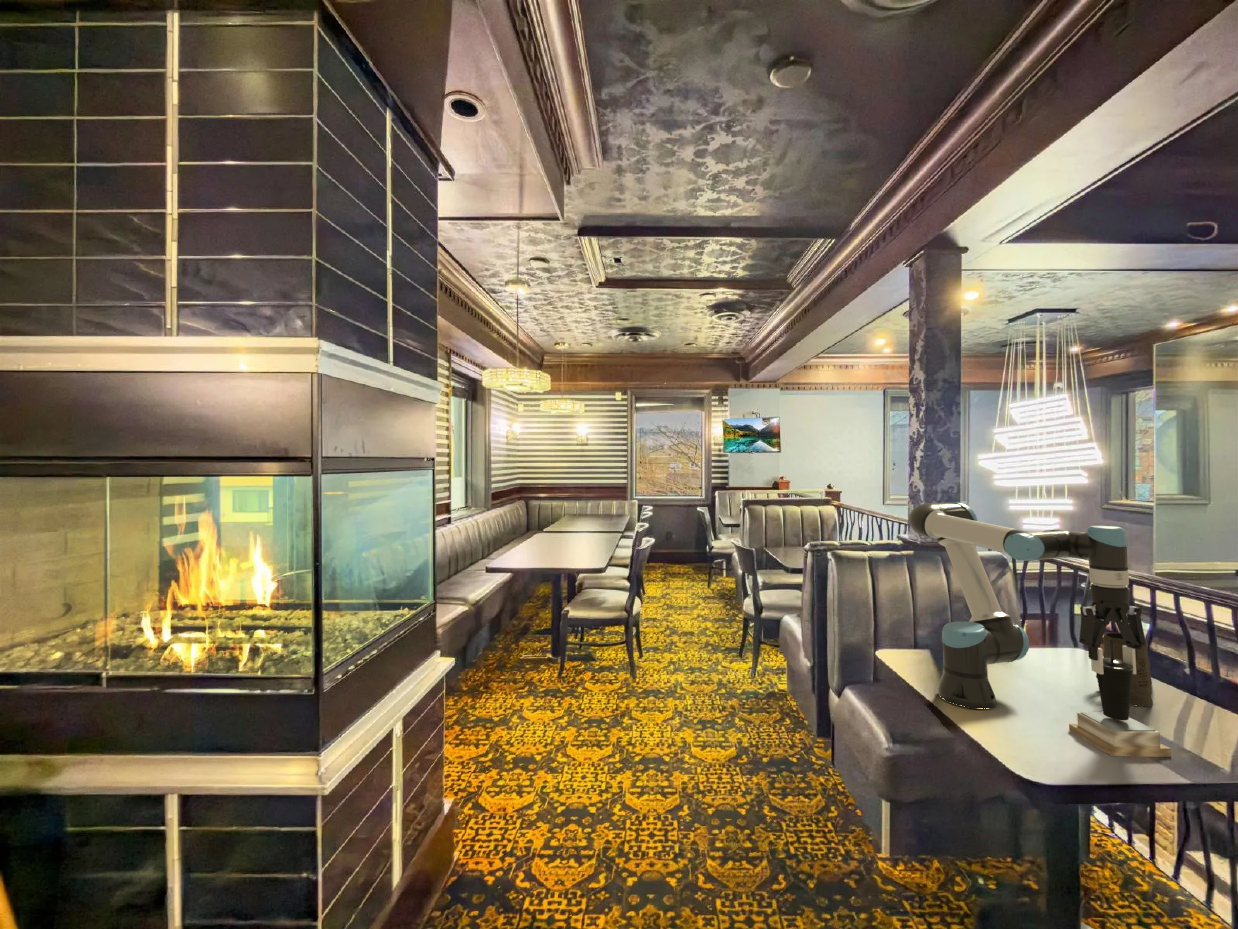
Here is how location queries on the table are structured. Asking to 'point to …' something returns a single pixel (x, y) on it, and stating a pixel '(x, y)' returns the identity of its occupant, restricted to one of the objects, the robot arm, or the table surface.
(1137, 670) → the beer stein
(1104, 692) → the drinking cup
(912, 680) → the table surface
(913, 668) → the table surface
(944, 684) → the robot arm
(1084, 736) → the plinth
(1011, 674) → the table surface
